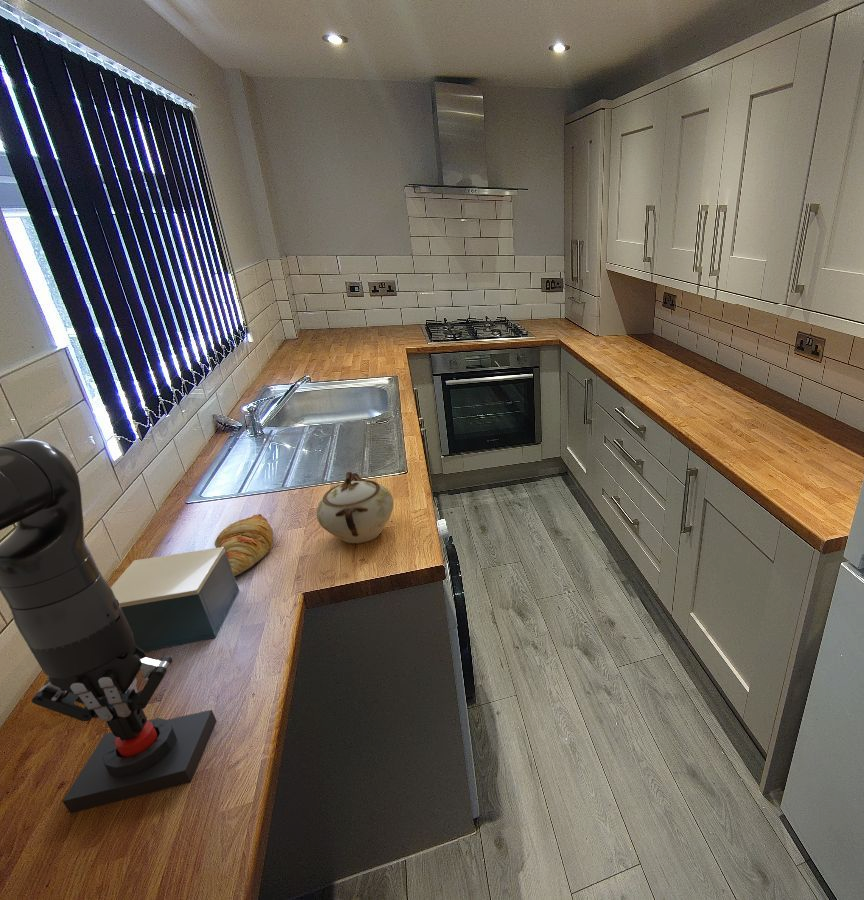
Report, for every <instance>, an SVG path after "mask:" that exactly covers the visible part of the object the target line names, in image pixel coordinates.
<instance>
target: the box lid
mask: <svg viewBox="0 0 864 900" xmlns="http://www.w3.org/2000/svg"><path fill="white" fill-rule="evenodd" d="M224 551H225V549H224V547H219V548H216V547H214V548H207V549H201V550H194V551H186V552H180V553H175V554H174V553H173V554H168V555H161V556H154V557H147V558H141V559H135V560H133V561H132V562H131V563H130V565H128V567H127V568H126V569H125V570H124V571H123V572H122V574H121V575H120V576H119V577H118V578H117V579H116V580H115V582H114V583H113V584H112V585H111V586H110V587H111V589H112V591H113V593H114V595H115V597H116V599H117V600H118V602H119V605H120V607H126V606H131V605H137V604H143V603H149V602H155V601H161V600H166V599H172V598H178V597H184V596H190V595H196V594H199V592H200V590H201V589H202V587H203V585H204V584H205V582H206V580H207V579H208V577H209V576H210V574H211V572H212V571H213V569H214V567H215V566H216V564H217V563H218V561H219V559H220V558H221V556H222V554H223V553H224Z"/></svg>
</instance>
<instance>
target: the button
mask: <svg viewBox="0 0 864 900" xmlns="http://www.w3.org/2000/svg"><path fill="white" fill-rule="evenodd" d="M156 739H157V732H156V730H155V728H154V726H153V724H152V723H151V722H149V721H147V722H146V724H145V726H144V728H143V729H142V731H141V732H140V734H139V736H138V737H136V738H132V739H128V740H123V741H122V740H121V739H120V737H117V738H116V739H115V746H116V747H117V749H118V751H119V753H120V755H121V756H123V757H131V756H135V755H137V754H139V753H141V752H142V751H144V750H146V749H148V748H149V747H150V746H151V745H152V744H153V743H154V742H155V741H156Z"/></svg>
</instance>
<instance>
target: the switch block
mask: <svg viewBox="0 0 864 900" xmlns="http://www.w3.org/2000/svg"><path fill="white" fill-rule="evenodd" d="M147 721H149V722H151V723H152V724H153V726H154V728H155V730H156V732H157V739H156V741H155V742H154V743H153V744H152V745H151V746H150V747H149V748H148V749H146V750H144V751H142V752H141V753H139V754H137V755H135V756H131V757H123V756H121V755H120V753H119V751H118V749H117V747H116V746H115V739H116V738H117V737H116V736H114V735H113V733H112V731H110V732H108V733H104V734H103V736H102V737H101V739H100V740H99V742H98V744H97V745H96V747H95V749H94V750H93V752H92V753H91V755H90V757H89V758H88V760H87V761H86V763H85V765H84V766H83V768H82V769H81V771H80V772H79V774H78V775H77V776H76V779H75V780H74V782H73V784H72V785H71V787H70V789H69V790H68V791H67V793H66V795H65V796H64V798H63V799H62V803H63V805H64V806H65V808H66V809H67V811H68V812H69V814H73V813H78V812H81V811H85V810H89V809H93V808H97V807H101V806H105V805H108V804H109V805H110V804H113V803H116V802H120V801H123V800H124V801H125V800H128V799H132V798H136V797H140V796H143V795H148V794H152V793H156V792H159V791H164V790H167V789H170V788H171V789H172V788H175V787H179V786H183V785H187V784H190V783H192V781H193V779H194V776H195V773H196V771H197V769H198V767H199V764H200V761H201V759H202V757H203V755H204V752H205V751H206V750H205V749H206V747H207V745H208V742H209V741H210V737H211V735H212V733H213V732H214V731H213V730H214V728H215V726H216V723H217V719H216V717H215V714H214V711H213V710H212V709H209V710H204V711H200V712H196V713H195V712H194V713H192V714H191V713H190V714H187V715H183V716H177V717H174V718H169V719H164V718H159V717H157V718H153V719H152V718H151V719H147Z"/></svg>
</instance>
